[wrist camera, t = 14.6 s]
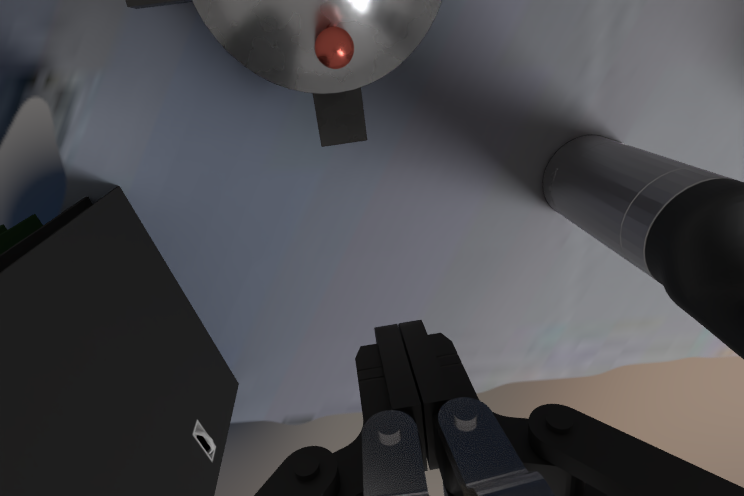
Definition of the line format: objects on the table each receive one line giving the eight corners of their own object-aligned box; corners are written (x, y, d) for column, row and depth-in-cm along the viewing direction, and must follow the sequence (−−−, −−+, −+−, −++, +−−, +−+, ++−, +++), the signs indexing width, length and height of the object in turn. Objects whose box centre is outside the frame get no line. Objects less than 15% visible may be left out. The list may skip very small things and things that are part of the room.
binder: (-7, 227, 46) (-560, 546, 17) (133, 181, 46) (-185, 424, 17) (131, 418, 57) (-55, 803, 28) (243, 382, 57) (171, 733, 28)
